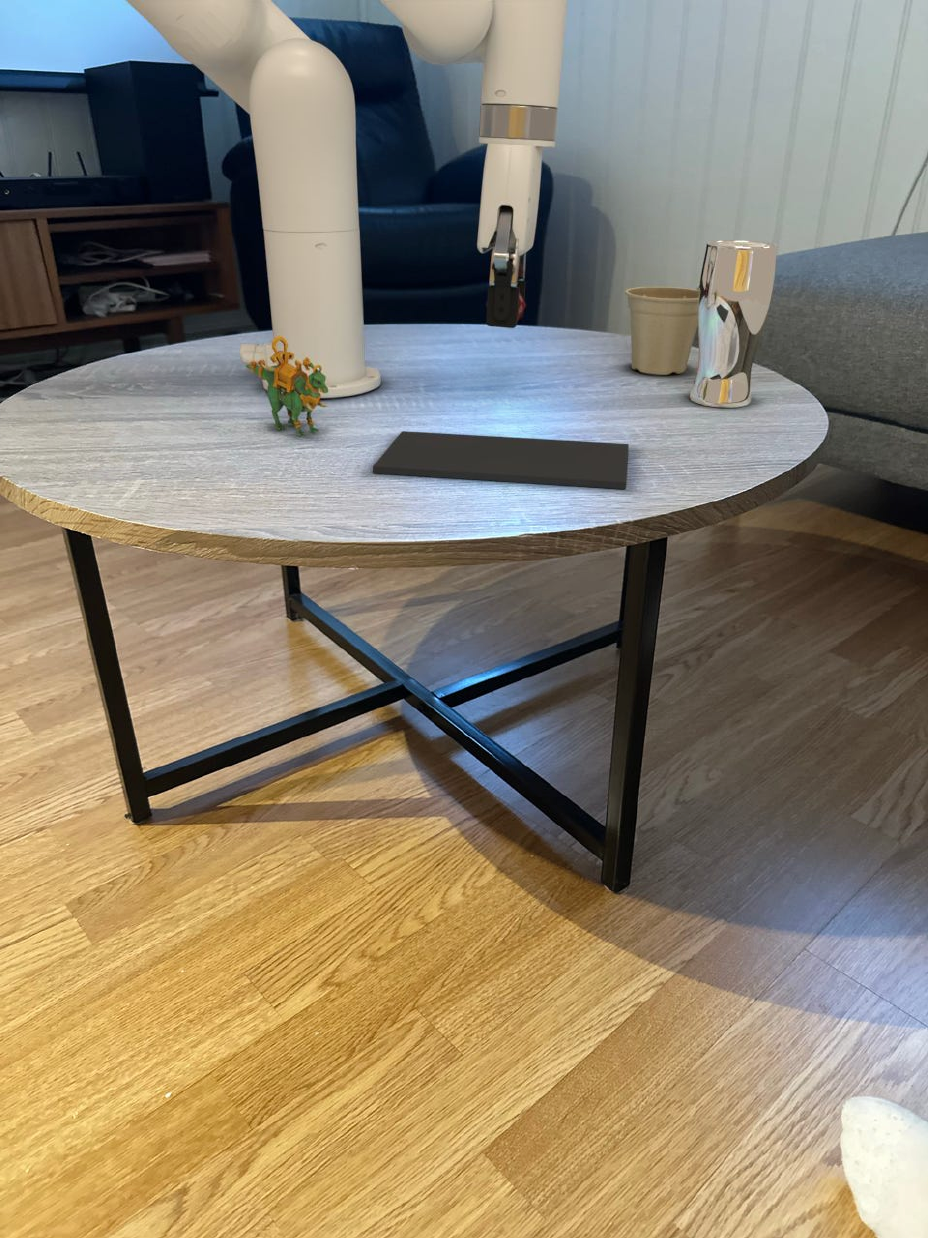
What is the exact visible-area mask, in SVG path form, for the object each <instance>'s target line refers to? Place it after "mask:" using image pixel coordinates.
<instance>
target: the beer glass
mask: <svg viewBox="0 0 928 1238" xmlns="http://www.w3.org/2000/svg"><path fill="white" fill-rule="evenodd" d="M777 252H778V244H777V243H774V242H769V241H768V242H767V241H758V240H743V239H742V240H741V239H737V240H735V239H733V240H732V239H729V240H728V239H725V240H720V239H719V240H712V241H711V240H710V241H707V242H706V247H705V252H704V256H703V260H702V261H703V262H702V267H701V273H700V277H699V283H698V290H699V292H698V316H697V317H698V325H697V337H698V361H697V362H698V363H697V369H696V372H695V373H696V374H695V378H694V381H693V384H692V388H691V390H690V395H689V399H690V401H692V402H693V403H694V404H697V405H701V406H705V407H710V408H720V409H722V408H723V409H734V408H735V409H736V408H742V407H747V406H748V405H750V404H751V402H752V370H753V365H754V359H755V355H756V352H757V348H758V346H759V344H760V341H761V340H760V339H761V337H762V334H763V332H764V328H765V324H766V321H767V318H768V314H769V312H770V307H771V303H772V297H773V292H774V287H775V286H774V285H775V276H776V266H777V265H776V264H777V254H778V253H777Z"/></svg>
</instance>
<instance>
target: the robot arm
mask: <svg viewBox="0 0 928 1238" xmlns="http://www.w3.org/2000/svg"><path fill="white" fill-rule="evenodd" d="M379 1H380V2H381V3H382V4H383V5H384V7H386V8H387V9H388V10H389V11H390V12H391V13H392V14H393V15H394V16H395V17H396V18H397V20H399V21H400V22H401V29H402V32H403V36H404V39H405V42H406V43H407V45H408V47H409V48H410V49H411V51H412V52H413V53H414V54H415V55H416V56H417V57H418V58H419V59H420V60H423V61H424V62H426V63H428V64H432V65H436V66H451V65H452V66H453V65H463V64H477V63H481V64H482V68H481V87H480V88H481V89H480V91H481V92H480V107H479V108H480V110H479V128H478V144H486V152H485V158H484V164H483V165H484V166H483V173H482V184H481V195H480V207H479V219H478V231H477V240H476V241H477V242H476V247H477V250H478V252H479V253H481V254H486V253H488V252H489V251H491V258H490V259H491V261H490V271H489V273H490V274H489V284H488V285H487V299H486V300H487V301H486V303H487V306H486V317H485V318H486V319H485V323H486V325H487V326H488V327H494V328H495V327H496V328H507V329H508V328H509V329H515V328H516V327H517V326H518V322H517V318H518V305H519V291H520V293H521V295H522V298H523V300H524V301H525V295H526V280H525V278H526V277H525V275H526V257H527V252H529V250H531V249H532V248H533V246H534V242H535V236H536V229H537V219H538V211H539V201H540V192H541V191H540V189H541V180H542V179H541V177H542V165H543V150H544V148H555V146H556V137H557V126H558V125H557V123H558V114H559V113H558V112H559V100H560V89H561V77H562V66H563V65H562V64H563V51H564V41H565V40H564V39H565V29H566V18H567V17H566V16H567V5H568V4H567V3H568V2H567V1H568V0H379ZM125 2H127V3H128V4H129V5H130V6H131V7H132V8H133V9H134V10H135V11H136V12H137V13H138V14H140V16H142V17H143V19H144V20H146V21H147V22H148V23H149V24H150V25H151V26H152V27H153V28H154V29H155V30H156V31H157V32H158V33H159V34H160V36H162V38H163V39H164V40H165V41H166V42H167V43H168V45H169V46H170V47H171V49H173V51H174V52H176V54H178V55H179V56H180V57H181V58H182V59H184V60H185V61H187V62H189V63H190V64H192V65H193V66H195V67H196V68H197V69H199V70H200V71H201V73H203V74H204V75H205V76H206V77H207V78H209V79H210V80H211V81H212V82H213V83H214V84H215V85H216V86H217V87H219V88H220V89H221V90H222V91H223V92H224V93H225V94H226V95H227V96H229V98H230V99H232V100H233V101H234V102H235V103H236V104H237V105H238V106H239V107H241V108H242V109H243V110H244V111H245V112H246V113H247V114H248V115H249V118H250V128H251V135H252V136H251V137H252V143H253V149H254V157H255V164H256V174H257V181H258V190H259V201H260V202H259V203H260V213H261V222H262V229H263V241H264V250H265V260H266V261H265V262H266V273H267V282H268V294H269V305H270V306H269V307H270V315H271V328H272V337H273V338H272V340H271V341H269V342H268V343H266V344H260V343H248V342H247V343H245V342H244V343H241V344H240V346H239V357H240V360H241V362H242V364H244V365H248V364H250V361H256V362H257V365H259V364H258V361H260V360H264V361H265V366H268V367H270V366H275V365H277V362H278V361H277V362H276V363H273V362H272V361H271V359H270V357H271V356H272V355H273V354H275V352H274V350H273V349H272V342H273V339H274V338H275V337H277V336H281V337H283V338H285V340H286V341H287V343H288V348H287V352H291V353H293V354H294V358H293V360H290V359H289V362H288V363H289V364H290V365H292V366H294V367H295V368H296V365H295V360H298V361H299V362H300V363H302V365H301V366H302V371H304V372H305V373H306V374H307V376H309V375H310V374H312V373H313V369H312V368H311V367H309V366H308V368H310V370H306V369H305V366H304V365H303V359H305V357H308V358H309V360H310V362H312V364H313V365H314V366H316V365H320V366H321V367H322V370H321V373H322V374H323V375H325V376H326V379H325V384H326V386H327V388H328V393H322V392H320V389H319V393H321V398H320V399H334V398H335V399H336V398H344V397H351V396H356V395H362V394H365V393H368V392H371V391H373V390H375V389H377V388H378V387H380V385H381V379H382V378H381V373H380V371H379V370H378V369H376V368H374V367H371V366H368V365H366V347H365V346H366V345H365V321H364V300H363V280H362V279H363V278H362V255H361V254H362V253H361V236H360V235H361V234H360V233H361V231H360V217H359V196H358V174H357V173H358V171H357V145H356V141H357V140H356V139H357V137H356V136H357V133H356V131H357V129H356V128H357V127H356V126H357V125H356V102H355V101H356V100H355V92H354V88H353V84H352V80H351V78H350V75H349V72H348V71H347V69H346V68H345V66H344V64H343V63H342V62H341V60H340V59H339V58H338V57H337V55H336V54H335V53H334V52H332V51H331V50H330V49H329V48H328V47H326V46H325V45H323V44H321V43H319V42H317V41H315V40H312V39H311V38H310V37H309V36H308V35H307V34H306V33H305V32H304V31H302V30H301V28H300V27H299V26H297V25H296V24H295V23H294V22H293V21H292V20H291V18H289V17H288V16H287V15H286V14H285V13H284V12H283V11H282V10H281V9H280V7H278V6H277V5H276V4H275V2H273V1H272V0H125ZM523 317H524V311H523V312H522V314H521V316H520V318H519V320H518V321H521V320H522V319H523ZM276 349H277V352H278V351H284V344H283V343H282V342H281V341H278V342H277V343H276ZM282 355H283V354H281V356H282ZM275 359H276V358H275ZM276 360H277V359H276ZM278 363H279V362H278ZM251 365H252V364H251ZM317 370H318V371H319V367H318V368H317ZM261 380H262V381H261V382H262V387H263V389H264V390H266V391H267V389H268V383H267V381H266V380H263V379H262V378H261Z"/></svg>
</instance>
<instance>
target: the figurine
mask: <svg viewBox="0 0 928 1238" xmlns="http://www.w3.org/2000/svg"><path fill="white" fill-rule="evenodd" d="M272 341H273V342H272V349H273V350H274V352H275V354H273V355H272V356H271V357H270V359H271V361H272V362H273V363H276V362H277V361H278V362H279V363H278V362H277V365H275V366H270V367H268V366H265V361H264V360H260V361H258V364H257V362H256V361H250V364H244V366H245V367H246V368H247V369H248V370H249V371H250V372H251V373H253V374H254V375H257V376H258V377H259V378H260V379H261V380H262V379H263V380H266V381H267V383H268V389H267V390H266V394H267V397H268V398H267V399H268V402H269V404H270V407H271V414H272V418H273V420H274V423H275V424H274V427H276V429H277V431H281V430H284V429H286V428H287V425H285V424H284V425H283V424H282V422H281V421H280V418H279V415H278V413H279V412H280V411H281V410H283V408H284V407H285V410H286V411H287V414H288V417H289V418H288V422H287V424H289V425H291V426H292V427H295V429H296V431H297V434H298V436H299V437H301V436H302V435H303V436H306V435H307V433H306V432H303V431H302V429H301V427H302V424H301V421H300V420H299V416H300V415H301V413H306V418H305V419H306V421H307V422H306V424H307V425H308V427H309V430H310V431H311V432H312V433H317V432H319V431H320V429H318V428H315V427H314V420H313V417H312V416H311V415H312V412H313V411H314V410H315V409H316V407H317V406H319V407H321V408H328V407H329V405H327V404H325V403H324V402H322V401H321V399H322V398H321V393H319V389H320V392H322V393H328V388H327V386H326V384H325V379H326V376H325V375H323V374H322V373H321V370H322V367H321V366H320V365H316V366H314V365H313V364H312V362H310V360H309V358H308V357H305V359H303V365H304V366H305V369H306V370H310V368H308V366H309V367H311V368H312V369H313V373H312V374H310V375H309V376H307V374H306V373H305V372H304V371H302V366H301V365H302V363H300V362H299V361H298V360H295V365H296V368H295V367H294V366H292V365H290V364H289V363H288V362H289V359H290V360H293V358H294V354H293V353H291V352H287V348H288V343H287V341H286V340H285V338H283V337H281V336H277V337H275V338H274V339H273V338H272ZM278 341H281V342H282V343H283V344H284V351H278V352H277V349H276V343H277V342H278ZM281 354H283V355H282V356H281ZM275 358H276V359H277V360H276V359H275ZM251 364H252V365H251ZM318 367H319V371H318V370H317V368H318Z"/></svg>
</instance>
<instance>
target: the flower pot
mask: <svg viewBox="0 0 928 1238" xmlns="http://www.w3.org/2000/svg"><path fill="white" fill-rule="evenodd" d="M698 292H699V289H694V288H689V287H688V288H687V287H677V286H676V287H675V286H638V287H631V288H628V289H625V290H624V294H625V296H627V307H628V308H629V315H630V316H629V317H630V340H631V341H630V346H631V347H630V349H631V369H632V370H635V371H636V370H637V371H639V372H640V373H643V374H646V375H657V376H668V375H670V374H672V373H674V374H677V375H680V374H683V373H685V372H686V370H687V367H688V363H689V358H690V355H691V352H692V347H693V344H694V339H695V337H696V332H697V330H698V317H697V316H698Z"/></svg>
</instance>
